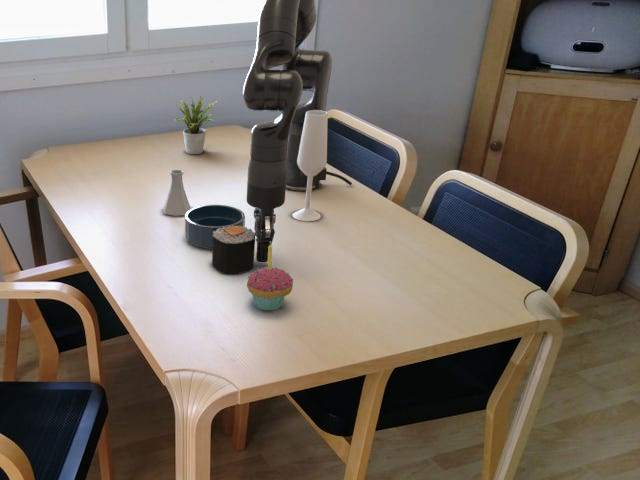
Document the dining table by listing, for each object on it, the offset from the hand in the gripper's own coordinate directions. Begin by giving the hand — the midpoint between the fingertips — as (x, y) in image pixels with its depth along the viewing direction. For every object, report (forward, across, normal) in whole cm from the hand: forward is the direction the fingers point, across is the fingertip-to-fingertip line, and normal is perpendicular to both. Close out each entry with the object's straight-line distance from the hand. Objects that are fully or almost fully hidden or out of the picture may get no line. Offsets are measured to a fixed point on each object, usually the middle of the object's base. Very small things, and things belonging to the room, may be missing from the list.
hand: (261, 260), depth 141 cm
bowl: (+1, +14, +9) cm, 16 cm away
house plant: (+1, +78, +10) cm, 79 cm away
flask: (+1, +31, +17) cm, 35 cm away
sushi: (+1, 0, +6) cm, 6 cm away
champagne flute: (+1, +26, -14) cm, 29 cm away
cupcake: (+1, -17, +1) cm, 17 cm away
